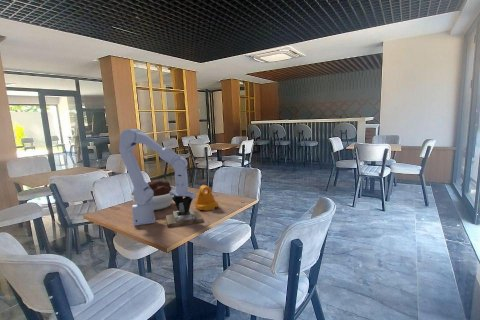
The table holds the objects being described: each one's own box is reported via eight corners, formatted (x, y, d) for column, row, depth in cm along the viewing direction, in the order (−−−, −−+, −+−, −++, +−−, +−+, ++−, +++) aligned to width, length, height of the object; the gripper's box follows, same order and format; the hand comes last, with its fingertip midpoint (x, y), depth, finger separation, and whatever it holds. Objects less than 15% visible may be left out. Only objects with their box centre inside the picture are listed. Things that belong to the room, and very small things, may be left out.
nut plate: (167, 227, 115) (167, 220, 115) (165, 218, 127) (165, 211, 126) (203, 221, 121) (202, 214, 120) (198, 213, 132) (198, 206, 131)
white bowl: (141, 219, 127) (138, 189, 124) (125, 207, 146) (123, 181, 144) (187, 207, 142) (185, 180, 140) (167, 198, 161) (166, 174, 159)
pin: (184, 217, 121) (183, 203, 119) (177, 216, 122) (176, 202, 121) (189, 215, 124) (188, 200, 123) (183, 214, 126) (182, 200, 125)
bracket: (200, 211, 135) (198, 189, 133) (195, 208, 141) (194, 186, 139) (218, 207, 140) (217, 186, 138) (213, 204, 146) (212, 183, 144)
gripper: (164, 183, 121) (166, 211, 123) (187, 186, 114) (189, 216, 116) (174, 180, 127) (176, 207, 129) (198, 183, 120) (199, 211, 122)
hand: (183, 211), depth 123 cm, fingers closed on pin, 4 cm apart
